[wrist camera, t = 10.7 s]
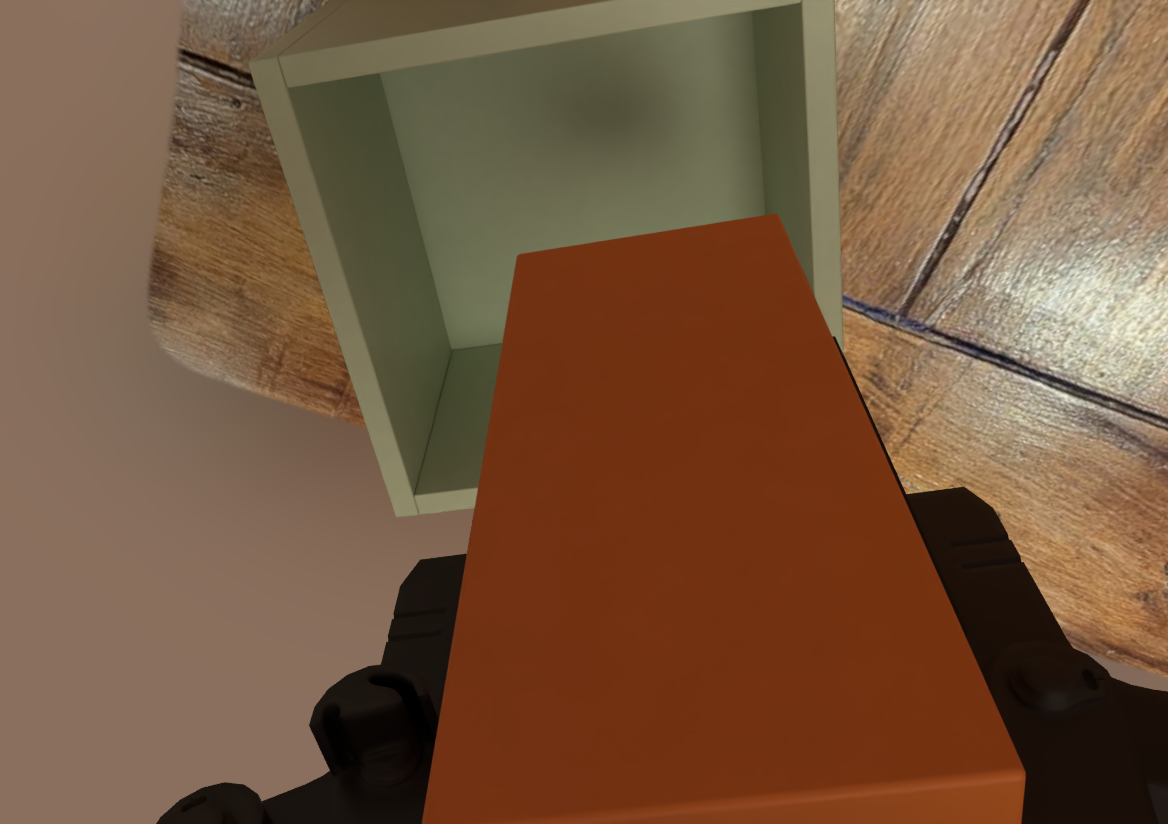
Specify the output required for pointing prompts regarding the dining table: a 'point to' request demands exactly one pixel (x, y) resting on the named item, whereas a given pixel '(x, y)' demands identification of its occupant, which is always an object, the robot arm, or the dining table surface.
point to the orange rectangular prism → (699, 567)
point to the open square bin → (529, 175)
